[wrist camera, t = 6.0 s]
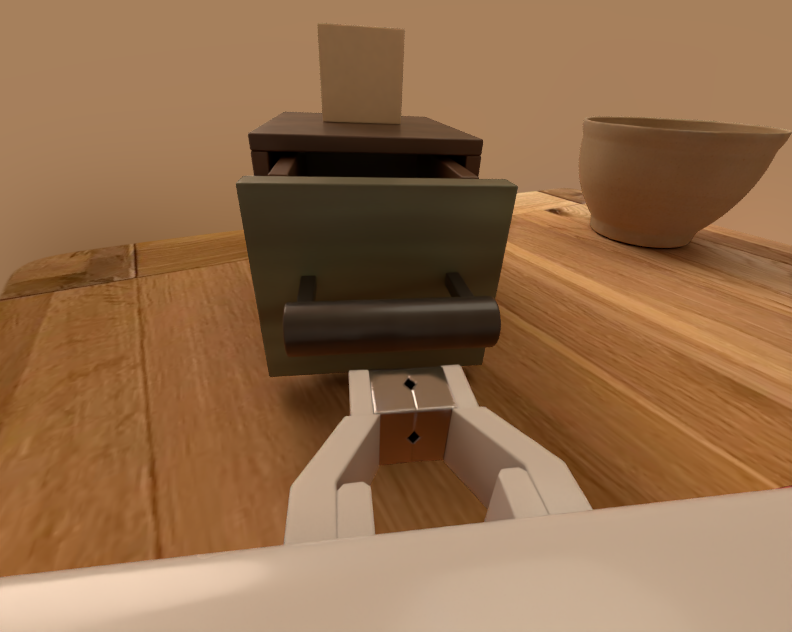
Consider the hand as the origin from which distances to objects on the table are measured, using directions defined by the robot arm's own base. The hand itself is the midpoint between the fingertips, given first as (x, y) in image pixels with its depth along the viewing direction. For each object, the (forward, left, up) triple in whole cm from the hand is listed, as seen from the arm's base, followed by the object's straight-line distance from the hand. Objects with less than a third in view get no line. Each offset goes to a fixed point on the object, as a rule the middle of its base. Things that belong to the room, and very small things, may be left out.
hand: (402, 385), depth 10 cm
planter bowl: (+30, +28, -6) cm, 42 cm away
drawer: (0, +11, -5) cm, 12 cm away
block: (0, +22, +5) cm, 23 cm away
